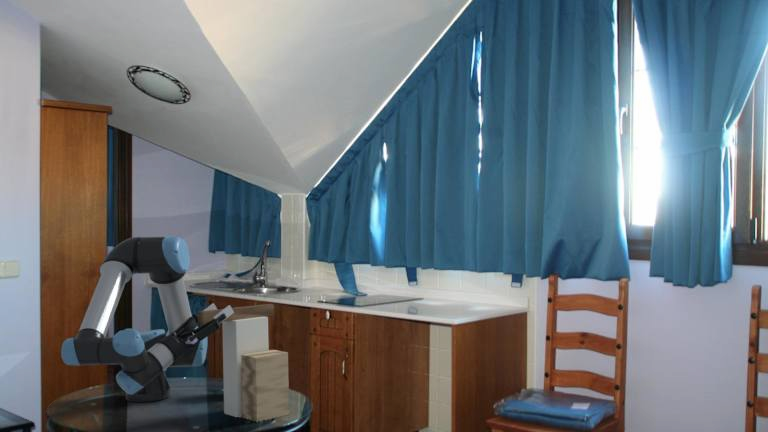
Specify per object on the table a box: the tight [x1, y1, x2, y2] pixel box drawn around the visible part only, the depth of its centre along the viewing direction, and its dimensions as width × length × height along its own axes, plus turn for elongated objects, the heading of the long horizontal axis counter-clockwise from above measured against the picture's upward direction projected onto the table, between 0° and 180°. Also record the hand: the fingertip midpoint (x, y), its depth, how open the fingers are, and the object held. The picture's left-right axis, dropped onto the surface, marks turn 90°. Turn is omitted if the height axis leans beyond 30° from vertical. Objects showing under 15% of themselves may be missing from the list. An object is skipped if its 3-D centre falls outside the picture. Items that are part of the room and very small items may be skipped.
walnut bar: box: [197, 303, 275, 325], centre depth 232 cm, size 4×26×4 cm, turn 134°
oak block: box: [241, 349, 290, 423], centre depth 228 cm, size 8×12×20 cm, turn 134°
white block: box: [221, 316, 270, 418], centre depth 234 cm, size 8×12×30 cm, turn 134°
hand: (223, 307), depth 228 cm, fingers open, 9 cm apart
